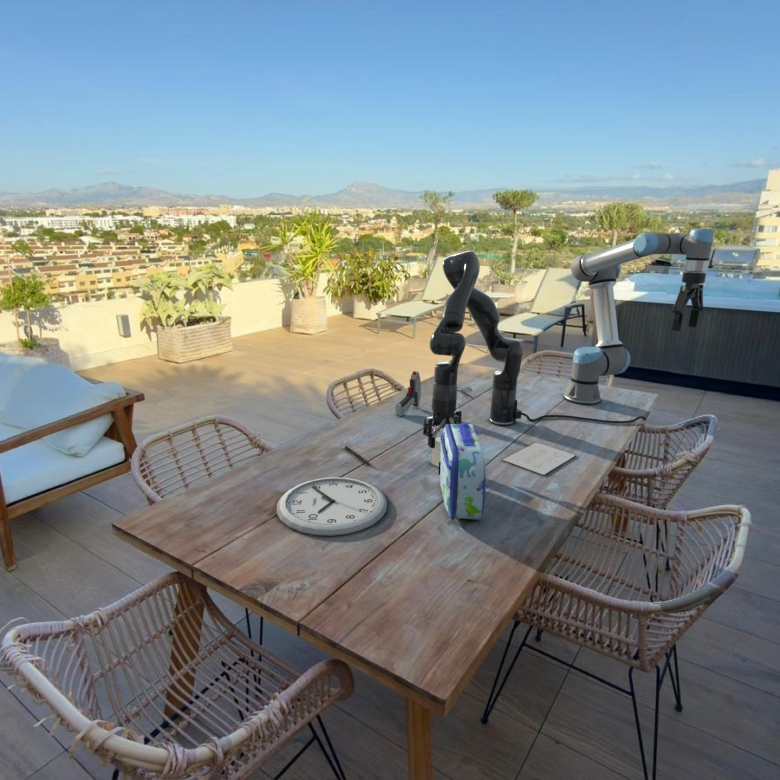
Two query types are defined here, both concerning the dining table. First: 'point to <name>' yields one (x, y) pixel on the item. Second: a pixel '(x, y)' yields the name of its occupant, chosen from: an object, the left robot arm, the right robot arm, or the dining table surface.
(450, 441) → the lunch box
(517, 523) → the dining table surface
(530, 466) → the invitation card
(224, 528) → the dining table surface
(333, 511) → the wall clock
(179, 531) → the dining table surface
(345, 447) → the dark brown rod
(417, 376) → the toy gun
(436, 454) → the block
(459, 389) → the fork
